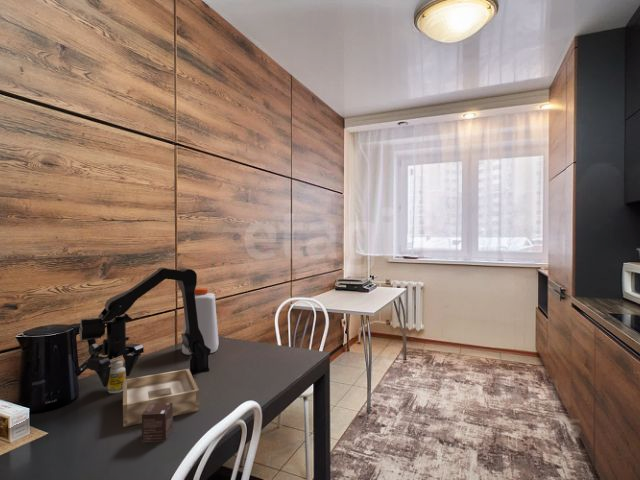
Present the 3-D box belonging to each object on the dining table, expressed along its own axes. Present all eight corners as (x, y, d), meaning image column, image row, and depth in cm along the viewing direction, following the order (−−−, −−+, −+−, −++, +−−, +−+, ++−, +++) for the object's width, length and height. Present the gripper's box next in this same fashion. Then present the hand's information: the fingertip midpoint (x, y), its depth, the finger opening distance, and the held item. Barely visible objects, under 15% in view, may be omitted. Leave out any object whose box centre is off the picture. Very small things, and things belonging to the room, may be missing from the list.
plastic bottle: (180, 356, 157) (179, 291, 157) (186, 346, 172) (185, 286, 172) (216, 354, 160) (216, 290, 160) (219, 344, 175) (218, 285, 175)
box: (150, 430, 98) (150, 403, 98) (173, 429, 99) (173, 402, 99) (141, 443, 92) (140, 414, 92) (165, 441, 93) (165, 413, 92)
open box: (188, 385, 127) (188, 368, 127) (199, 410, 109) (199, 390, 109) (123, 398, 117) (123, 379, 117) (123, 427, 100) (123, 405, 99)
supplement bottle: (124, 385, 127) (124, 358, 127) (126, 391, 123) (126, 362, 122) (107, 389, 124) (106, 361, 124) (108, 395, 120) (107, 366, 119)
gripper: (119, 326, 134) (120, 368, 135) (72, 341, 116) (72, 389, 117) (144, 329, 131) (145, 372, 131) (99, 344, 113) (100, 393, 113)
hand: (116, 381), depth 123 cm, fingers open, 9 cm apart
